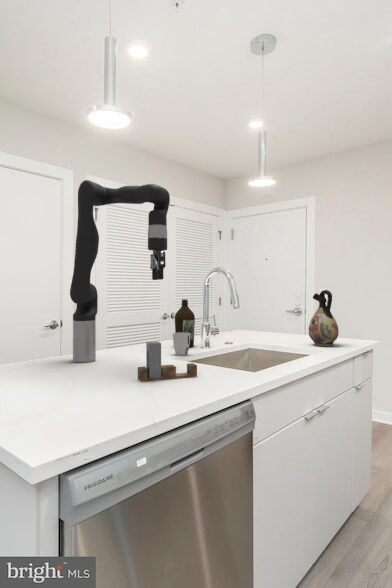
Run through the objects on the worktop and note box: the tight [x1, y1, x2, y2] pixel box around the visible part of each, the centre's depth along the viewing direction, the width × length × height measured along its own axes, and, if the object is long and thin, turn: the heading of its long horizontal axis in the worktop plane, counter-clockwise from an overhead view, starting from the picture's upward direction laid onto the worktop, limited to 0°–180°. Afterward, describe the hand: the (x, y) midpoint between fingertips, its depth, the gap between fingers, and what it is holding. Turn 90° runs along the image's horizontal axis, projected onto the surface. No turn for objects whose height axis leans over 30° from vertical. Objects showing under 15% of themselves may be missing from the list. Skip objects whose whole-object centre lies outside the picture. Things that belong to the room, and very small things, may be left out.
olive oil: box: [174, 298, 196, 349], centre depth 200 cm, size 11×11×25 cm
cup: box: [172, 332, 190, 357], centre depth 177 cm, size 8×8×10 cm
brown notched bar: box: [137, 362, 198, 382], centre depth 131 cm, size 20×4×4 cm, turn 110°
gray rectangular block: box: [145, 341, 162, 378], centre depth 129 cm, size 4×4×12 cm
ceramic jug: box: [308, 289, 339, 347], centre depth 205 cm, size 17×15×30 cm
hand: (157, 279), depth 148 cm, fingers open, 8 cm apart
